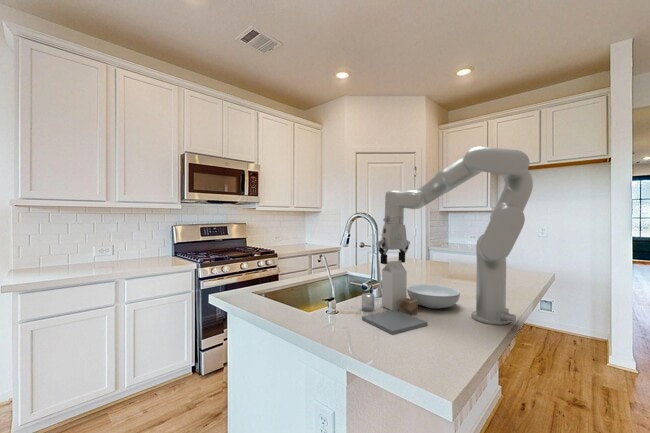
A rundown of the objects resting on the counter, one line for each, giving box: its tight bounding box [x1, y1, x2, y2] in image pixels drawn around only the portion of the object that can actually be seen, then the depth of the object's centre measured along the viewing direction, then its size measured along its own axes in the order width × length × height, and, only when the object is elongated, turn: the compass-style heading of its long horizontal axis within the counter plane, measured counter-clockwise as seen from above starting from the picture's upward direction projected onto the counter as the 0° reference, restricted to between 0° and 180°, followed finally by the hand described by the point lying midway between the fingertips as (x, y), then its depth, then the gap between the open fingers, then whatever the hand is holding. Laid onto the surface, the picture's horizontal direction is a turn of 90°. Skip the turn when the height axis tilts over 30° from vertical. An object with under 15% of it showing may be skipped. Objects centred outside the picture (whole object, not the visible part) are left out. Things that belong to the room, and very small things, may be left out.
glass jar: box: [361, 292, 375, 313], centre depth 125 cm, size 5×5×6 cm
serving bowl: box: [407, 283, 461, 310], centre depth 131 cm, size 21×21×7 cm
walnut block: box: [398, 297, 419, 316], centre depth 121 cm, size 5×5×5 cm
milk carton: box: [381, 260, 408, 311], centre depth 128 cm, size 7×7×19 cm
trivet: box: [361, 309, 429, 336], centre depth 111 cm, size 16×16×1 cm
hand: (392, 263), depth 128 cm, fingers open, 9 cm apart
